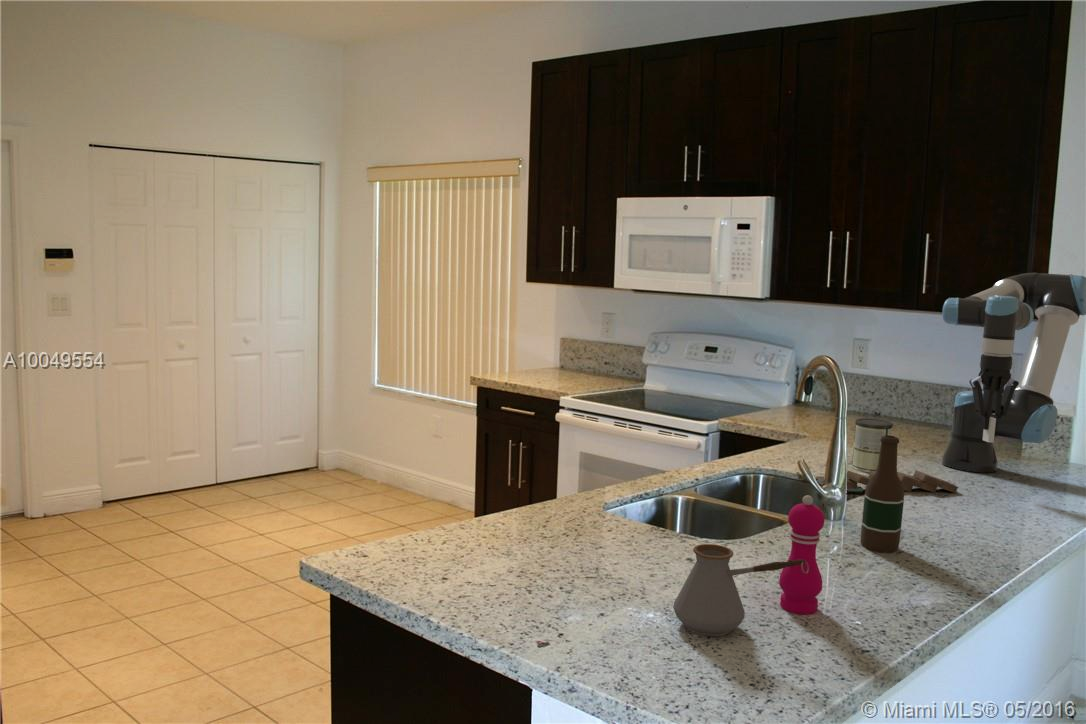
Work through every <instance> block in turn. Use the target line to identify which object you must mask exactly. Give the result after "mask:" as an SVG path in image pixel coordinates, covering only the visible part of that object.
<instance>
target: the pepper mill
mask: <svg viewBox="0 0 1086 724" xmlns="http://www.w3.org/2000/svg"><path fill="white" fill-rule="evenodd" d="M787 520H788V521H787V523H788V524H789V526H790V527H791V529H790V530H789V534H790V535H789V539H790V540H791V549H790V553H789V556H788V559H787V560H786V562H788V561H789V560H792V561H796V560H805V561H806V562H807V563H808V566H809V571H808V573H804V572H807V569H808V568H807V564H806V563H805V564H803V570H804V572H803V571H802V568H801V565H799V566H798V565H794V566H793V568H790V567H786V568H782V569H781V571H780V575H779V579H778V583H779V587H780V589H781V590H782V591H783V592H782V593H781V595H780V601H779V605H780V607H781V608H782V609H783V610H785V611H787V612H790V613H793V614H798V615H811V614H815V613H817V611H818V606H819V599H818V598H817V596H819V594H821V592H822V591H823V578H822V575H821V574H822V573H821V571H820V568H819V566H818V562H817V557H816V556H817V545H818V544H819V543H820V542H821V540H820V537H821V534H820V531H822V529H823V528H824V525H825V515H824V512H823V511H822V509H821V508H820V507H818V506H816V505H815V504H814V498H813V497H812V496H811V495H809V494H808V495H804V496H803V497H802V502H801V503H798V504H796V505H794V506H793V507H792V508H790V511H789V512H788V516H787Z"/></svg>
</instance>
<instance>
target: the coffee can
mask: <svg viewBox="0 0 1086 724" xmlns="http://www.w3.org/2000/svg"><path fill="white" fill-rule="evenodd" d="M893 427H894V423H893V422H892V421H889V420H884V419H878V418H867V417H866V418H864V417H863V418H857V419H855V427H854V438H853V451H852V462H851V468H852V469H853V470H856V471H858V472H864V473H869V474H870V471H874V472H876V470H877V466H878V460H879V454H880V448H881V441H880V439H881V437H882V436H885V435H890V436H893V435H892V433H893Z"/></svg>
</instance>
